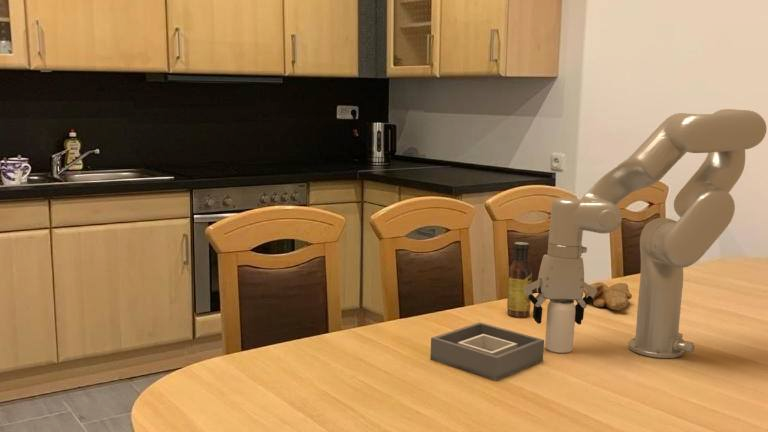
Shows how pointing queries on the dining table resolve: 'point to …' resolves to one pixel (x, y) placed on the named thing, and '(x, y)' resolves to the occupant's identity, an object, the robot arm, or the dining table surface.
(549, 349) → the can
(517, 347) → the box
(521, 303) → the sauce bottle
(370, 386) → the dining table surface
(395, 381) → the dining table surface
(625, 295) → the ginger root
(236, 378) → the dining table surface
